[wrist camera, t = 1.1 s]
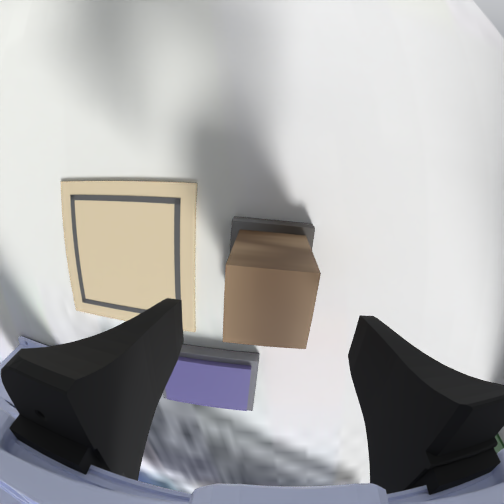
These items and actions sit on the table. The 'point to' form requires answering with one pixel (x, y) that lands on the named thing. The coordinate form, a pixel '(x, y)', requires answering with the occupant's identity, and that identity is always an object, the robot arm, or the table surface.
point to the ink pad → (214, 378)
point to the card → (130, 246)
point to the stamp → (270, 283)
